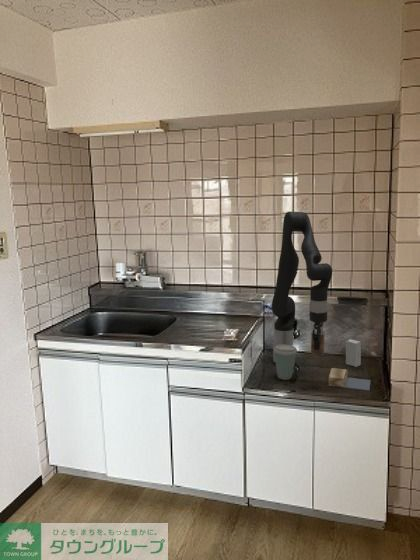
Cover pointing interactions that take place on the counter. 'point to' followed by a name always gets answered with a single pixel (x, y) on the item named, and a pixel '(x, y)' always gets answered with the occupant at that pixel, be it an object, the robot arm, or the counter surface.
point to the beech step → (338, 377)
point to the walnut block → (321, 350)
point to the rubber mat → (358, 384)
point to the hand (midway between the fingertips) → (317, 347)
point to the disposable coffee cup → (285, 360)
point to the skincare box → (353, 352)
